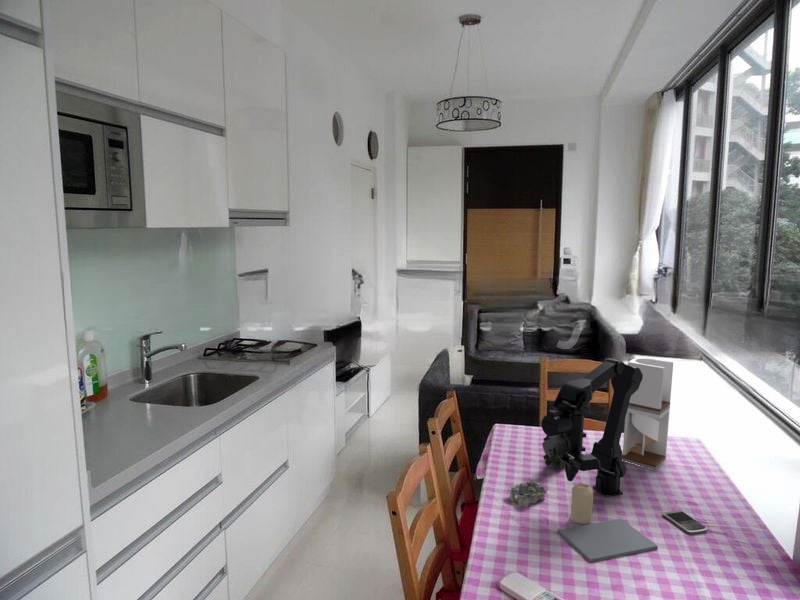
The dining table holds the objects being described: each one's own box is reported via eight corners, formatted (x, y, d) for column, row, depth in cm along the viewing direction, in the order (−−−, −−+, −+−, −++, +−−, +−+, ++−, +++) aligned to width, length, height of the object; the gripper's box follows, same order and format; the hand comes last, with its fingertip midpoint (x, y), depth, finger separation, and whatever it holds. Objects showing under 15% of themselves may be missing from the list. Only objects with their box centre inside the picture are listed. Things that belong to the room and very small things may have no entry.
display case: (620, 461, 199) (627, 362, 194) (632, 451, 207) (638, 356, 202) (655, 470, 191) (663, 368, 186) (665, 460, 199) (673, 362, 194)
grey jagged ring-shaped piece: (522, 509, 166) (523, 495, 165) (505, 498, 172) (505, 485, 172) (549, 499, 172) (550, 486, 171) (531, 489, 178) (531, 477, 177)
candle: (567, 514, 163) (569, 481, 161) (586, 513, 163) (588, 480, 162) (575, 525, 157) (577, 490, 156) (594, 524, 158) (596, 489, 156)
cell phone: (689, 536, 153) (689, 532, 152) (660, 516, 163) (660, 511, 163) (708, 533, 154) (709, 529, 154) (678, 513, 165) (679, 508, 165)
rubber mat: (620, 521, 159) (620, 518, 159) (657, 548, 146) (657, 545, 146) (557, 532, 153) (557, 529, 153) (590, 562, 140) (590, 559, 140)
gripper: (530, 419, 169) (528, 470, 171) (566, 443, 151) (563, 500, 153) (563, 416, 172) (560, 466, 174) (603, 439, 154) (599, 494, 157)
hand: (569, 480), depth 165 cm, fingers closed
